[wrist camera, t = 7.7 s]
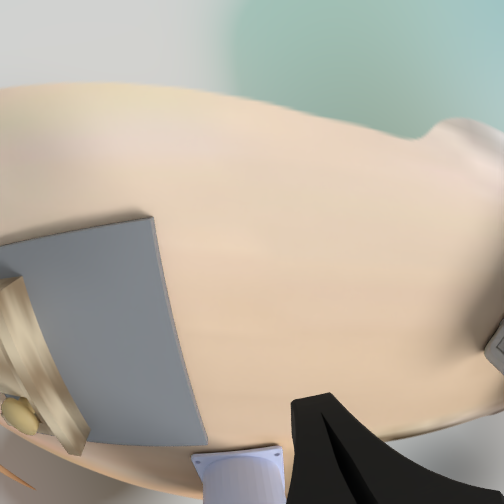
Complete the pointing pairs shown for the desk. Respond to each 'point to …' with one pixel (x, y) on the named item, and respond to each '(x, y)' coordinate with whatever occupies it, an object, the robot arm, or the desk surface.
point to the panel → (35, 370)
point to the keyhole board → (108, 334)
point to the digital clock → (496, 348)
